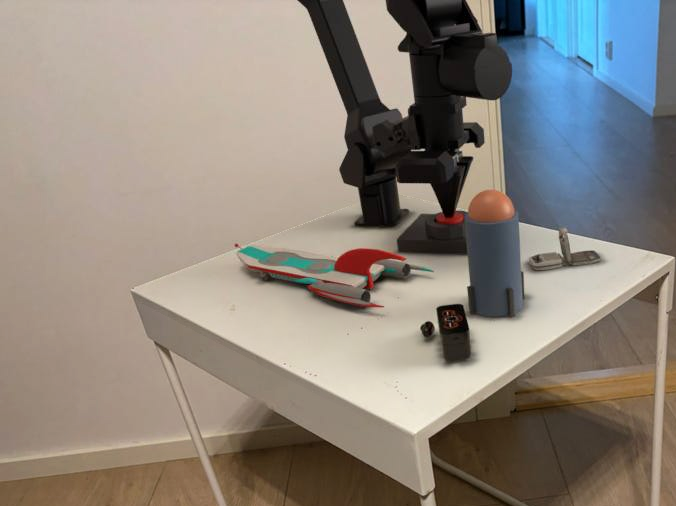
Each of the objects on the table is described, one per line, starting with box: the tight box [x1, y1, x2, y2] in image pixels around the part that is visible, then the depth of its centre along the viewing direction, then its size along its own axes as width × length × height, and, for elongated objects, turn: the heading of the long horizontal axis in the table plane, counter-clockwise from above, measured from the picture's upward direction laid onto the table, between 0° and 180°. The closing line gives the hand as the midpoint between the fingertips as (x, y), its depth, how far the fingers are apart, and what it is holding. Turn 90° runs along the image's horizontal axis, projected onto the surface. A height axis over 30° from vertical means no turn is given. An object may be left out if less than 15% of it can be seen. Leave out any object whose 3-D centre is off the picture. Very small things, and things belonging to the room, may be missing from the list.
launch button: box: [436, 212, 464, 225], centre depth 94 cm, size 4×4×2 cm
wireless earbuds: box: [419, 303, 472, 363], centre depth 71 cm, size 5×7×3 cm, turn 7°
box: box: [396, 210, 468, 255], centre depth 97 cm, size 10×10×4 cm
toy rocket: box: [464, 189, 526, 318], centre depth 76 cm, size 7×7×13 cm
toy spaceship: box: [234, 243, 435, 309], centre depth 88 cm, size 27×11×5 cm, turn 64°
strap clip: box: [528, 227, 601, 271], centre depth 87 cm, size 8×3×4 cm, turn 100°
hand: (449, 216), depth 94 cm, fingers closed, pressing on launch button
